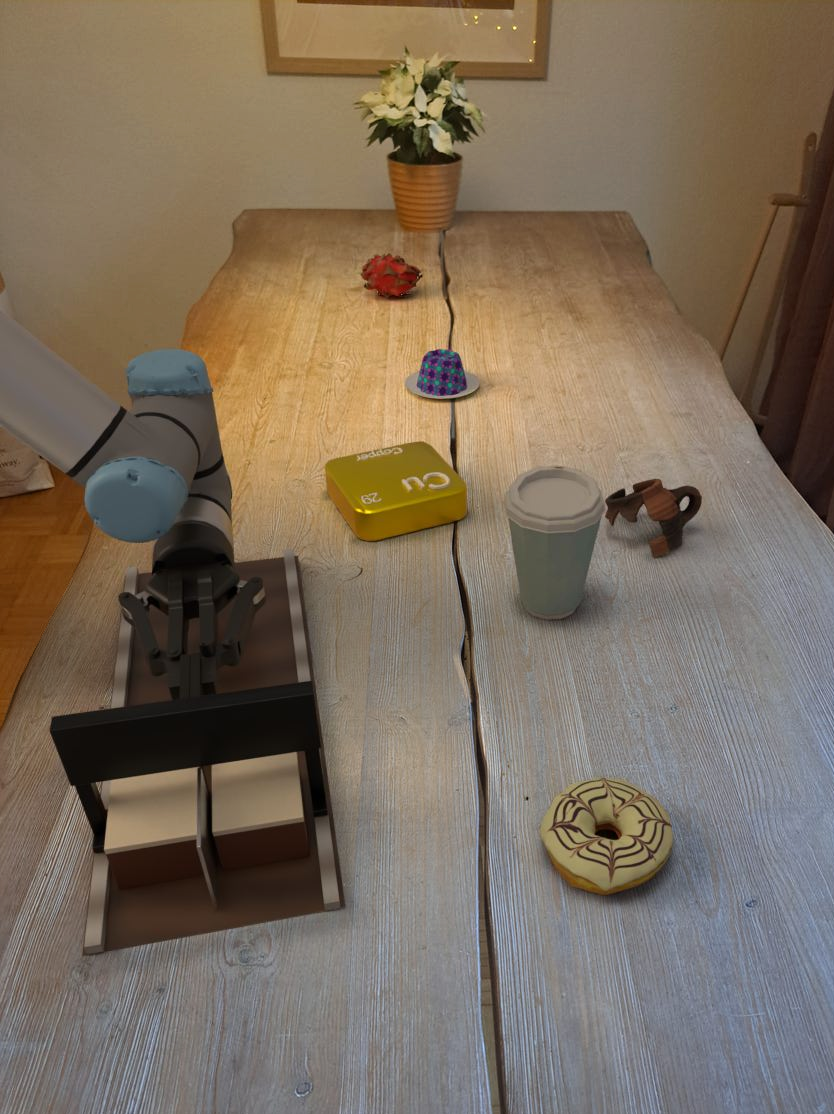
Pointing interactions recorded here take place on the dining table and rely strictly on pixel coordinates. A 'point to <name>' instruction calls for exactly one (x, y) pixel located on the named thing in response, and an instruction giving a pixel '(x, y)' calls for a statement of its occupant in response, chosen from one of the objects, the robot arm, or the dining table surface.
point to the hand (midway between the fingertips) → (192, 719)
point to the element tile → (395, 490)
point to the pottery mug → (657, 510)
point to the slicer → (188, 747)
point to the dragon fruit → (390, 275)
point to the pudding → (442, 376)
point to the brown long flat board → (244, 892)
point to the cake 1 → (153, 828)
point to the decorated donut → (599, 858)
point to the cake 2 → (259, 811)
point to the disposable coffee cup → (553, 536)
